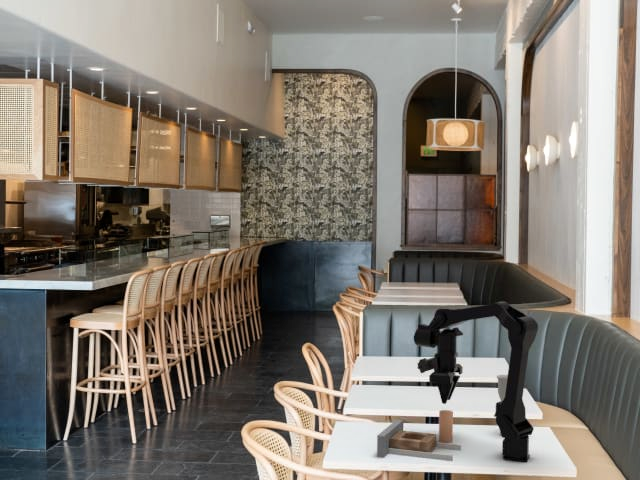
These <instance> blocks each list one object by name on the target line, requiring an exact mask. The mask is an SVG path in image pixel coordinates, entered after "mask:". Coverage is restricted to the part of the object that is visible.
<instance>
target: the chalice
mask: <svg viewBox="0 0 640 480" xmlns="http://www.w3.org/2000/svg"><path fill="white" fill-rule="evenodd" d="M507 377H508V374H497V375H496V379H497V394H498V397H499V400H500V401H503V400H504V398H505V392H506V384H507ZM498 435H499V436H500V437H502V436H501V432H500V431H499V433H498Z"/></svg>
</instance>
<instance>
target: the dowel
mask: <svg viewBox="0 0 640 480" xmlns="http://www.w3.org/2000/svg"><path fill="white" fill-rule="evenodd" d="M438 414H439V416H438V417H439V419H438V420H439V421H438V423H439V424H438V442H440V443H449V444H453V433H454V432H453V431H454V429H453V423H454V422H453V421H454V411H453V410H447V409H441V410H439V413H438Z"/></svg>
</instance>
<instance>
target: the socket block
mask: <svg viewBox="0 0 640 480" xmlns="http://www.w3.org/2000/svg"><path fill="white" fill-rule="evenodd" d="M436 442H437V433H431V432H430V433H429V432H421V431H410V430H403V431H402V430H399V431H398V432H397V433H396V434H395V435H394V436H393V437H392V438H390V448H394V449H402V450H411V451H420V452H429V453H434V451H435V450H436V449H437V448H436Z"/></svg>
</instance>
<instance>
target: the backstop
mask: <svg viewBox="0 0 640 480" xmlns="http://www.w3.org/2000/svg"><path fill="white" fill-rule="evenodd" d="M399 430H402V431H404V419H395V420H394V421H393V422H392V423H391V424H390V425H388V426H387V427H386V428H385V429H383V430H382V431H381V432H380V433H378V434H377V436H376V437H377V438H376V439H377V442H376V444H377V445H376V446H377V447H376V452H377V453H376V457H377V458H385V457H386V456H388V454H389V455H398V456H406V457H414V458H424V459H432V460H439V461H447V462H449V461H450V462H453V460H454V458H453V457H454V456H453V455H452V454H447V453H446V454H444V453H437V452H432V453H429V452H420V451H411V450H402V449H394V448H390V438H392V437H393V436H394V435H395V434H396V433H397V432H398V431H399ZM436 449H444V450H455V451H461V450H462V445H461V444H456V443H441V442H439V441H438V442H437V441H436Z"/></svg>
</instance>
